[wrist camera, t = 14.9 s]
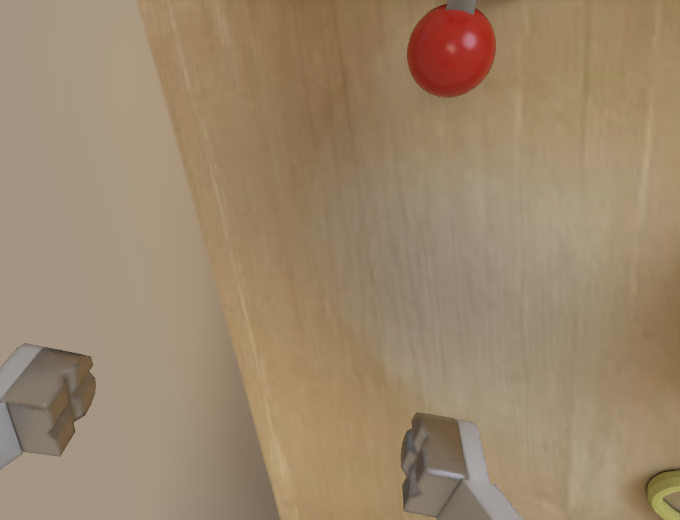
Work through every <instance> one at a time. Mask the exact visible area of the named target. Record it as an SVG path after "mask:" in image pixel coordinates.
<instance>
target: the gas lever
mask: <svg viewBox="0 0 680 520" xmlns="http://www.w3.org/2000/svg"><path fill="white" fill-rule="evenodd" d="M477 1H478V0H448V1H447V4H444V5H441V6H438V7H436V8H434V9H433V10H431V11H430V12H428V13H427V14H426V15H425V16H423V17H422V19H421V20H420V21H419V22H418V23H417V25H416V26H415V28H414V30H413V32H412V34H411V36H410V39H409V43H408V48H407V60H408V66H409V70H410V72H411V75H412V77H413V78H414V80H415V81H416V83H417V84H418V85H419V86H420V87H421V88H422V89H423V90H425V91H426V92H428V93H430V94H432V95H434V96H438V97H444V98H450V97H457V96H460V95H463V94H465V93H467V92H469V91H471V90H473V89H474V88H475V87H477V86H478V85H479V84H480V83H481V82H482V81H483V80H484V78H485V77H486V76H487V74H488V73H489V71H490V69H491V67H492V64H493V61H494V57H495V52H496V40H495V34H494V31H493V28H492V26H491V24H490V22H489V21H488V19H487V18H486V17H485V16H484V14H483V13H482V12H480V11H479V10H478V9H476V5H477Z"/></svg>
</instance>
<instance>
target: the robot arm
mask: <svg viewBox="0 0 680 520" xmlns="http://www.w3.org/2000/svg"><path fill="white" fill-rule="evenodd" d="M92 366H93V363H92V359H91V356H87V355H82V354H77V353H72V352H67V351H62V350H57V349H52V348H47V347H42V346H37V345H31V344H26V343H25V344H23V345H21V346H20V347H18V348H17V349H16V350H15V351H14V352H13V353H12V355H11V356H10V357H9V358H8V359H7V360H6V361H5V363H4V364H3V365H2V366H1V367H0V470H1V469H2V468H4V467H5V466H6V465H8V464H9V463H10V462H12V461H13V460H15V459H16V458H17V457H19V456H20V455H22V452H29V453H36V454H44V455H52V456H61V454H62V453H63V451H64V449H65V448H66V446H67V444H68V443H69V441H70V439H71V438H72V436H73V435H74V433H75V428H74V423H73V422H75V421H77V420H78V419H80V418H82V417H83V416H85V414H86V413H87V411H88V409H89V407H90V406H91V403H92V400H93V397H94V395H95V388H96V382H95V377H94V376H93V375H92V374H91V373H90V372H89V371H90V369H91V368H92ZM401 468H402V470H403V471H404V473H405V474H406V476H407V477H406V479H405V481H404V483H403V485H402V490H403V505H404V512H409V513H414V514H420V515H425V516H430V517H436V518H437V519H436V520H523V518H522V517H521V516H520V515H519V513H518V512H517V511H516V510H515V508H514V507H513V506H512V504H511V503H510V502H509V501H508V499H507V498H506V497H505V496H504V494H503V493H502V492H501V491H500V489H499V488H498V487H497V486H496V485H495V484H490V481H489V476H488V472H487V467H486V463H485V459H484V454H483V450H482V445H481V441H480V436H479V432H478V427H477V425H476V424H475V422H471V421H465V420H459V419H454V418H450V417H444V416H437V415H431V414H425V413H418V412H417V413H416V414H415V415H414V417H413V419H412V429H410V430H408V431H407V432H406V434H405V436H404V439H403V443H402V448H401Z"/></svg>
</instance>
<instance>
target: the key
mask: <svg viewBox="0 0 680 520" xmlns="http://www.w3.org/2000/svg"><path fill="white" fill-rule="evenodd" d="M647 489H648V501H649V503H650V505H651V506H652V507H653V509H654V510H655V511H656V512H657V514H658V515H659V516H660V517H661V518H663V519H664V520H680V513H679V512H678V511H676V510H675V509H673V508H672V507H670V506H669V505H668V504H667V503H666V502H665V501H664V500H663V498H664V496H666V495H668V494H671V493H673V492H678V491H680V471H669V472H664V473H661V474H659V475H657V476H655V477H654V478H653V479H652V480H651V481H650V482H649V484H648V487H647Z"/></svg>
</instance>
